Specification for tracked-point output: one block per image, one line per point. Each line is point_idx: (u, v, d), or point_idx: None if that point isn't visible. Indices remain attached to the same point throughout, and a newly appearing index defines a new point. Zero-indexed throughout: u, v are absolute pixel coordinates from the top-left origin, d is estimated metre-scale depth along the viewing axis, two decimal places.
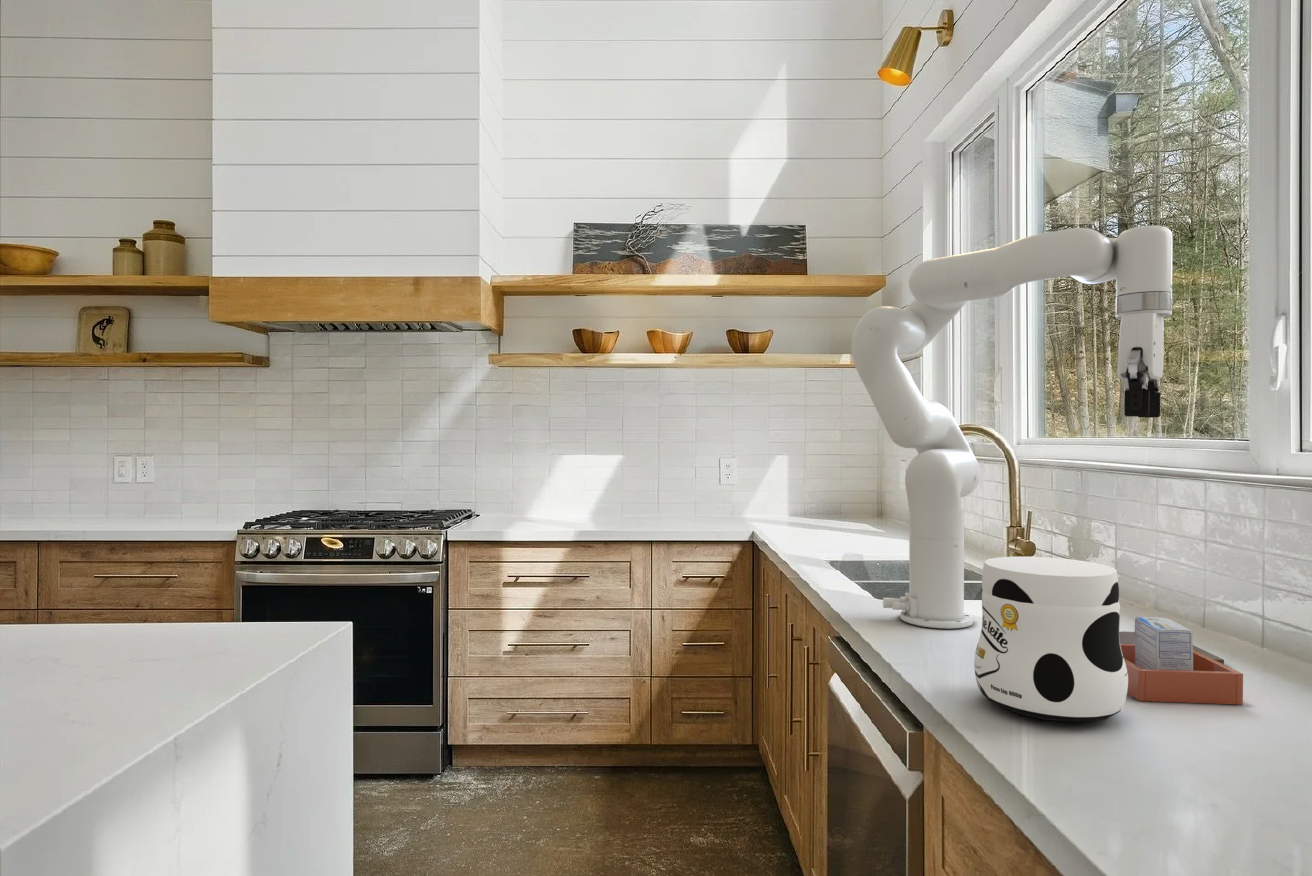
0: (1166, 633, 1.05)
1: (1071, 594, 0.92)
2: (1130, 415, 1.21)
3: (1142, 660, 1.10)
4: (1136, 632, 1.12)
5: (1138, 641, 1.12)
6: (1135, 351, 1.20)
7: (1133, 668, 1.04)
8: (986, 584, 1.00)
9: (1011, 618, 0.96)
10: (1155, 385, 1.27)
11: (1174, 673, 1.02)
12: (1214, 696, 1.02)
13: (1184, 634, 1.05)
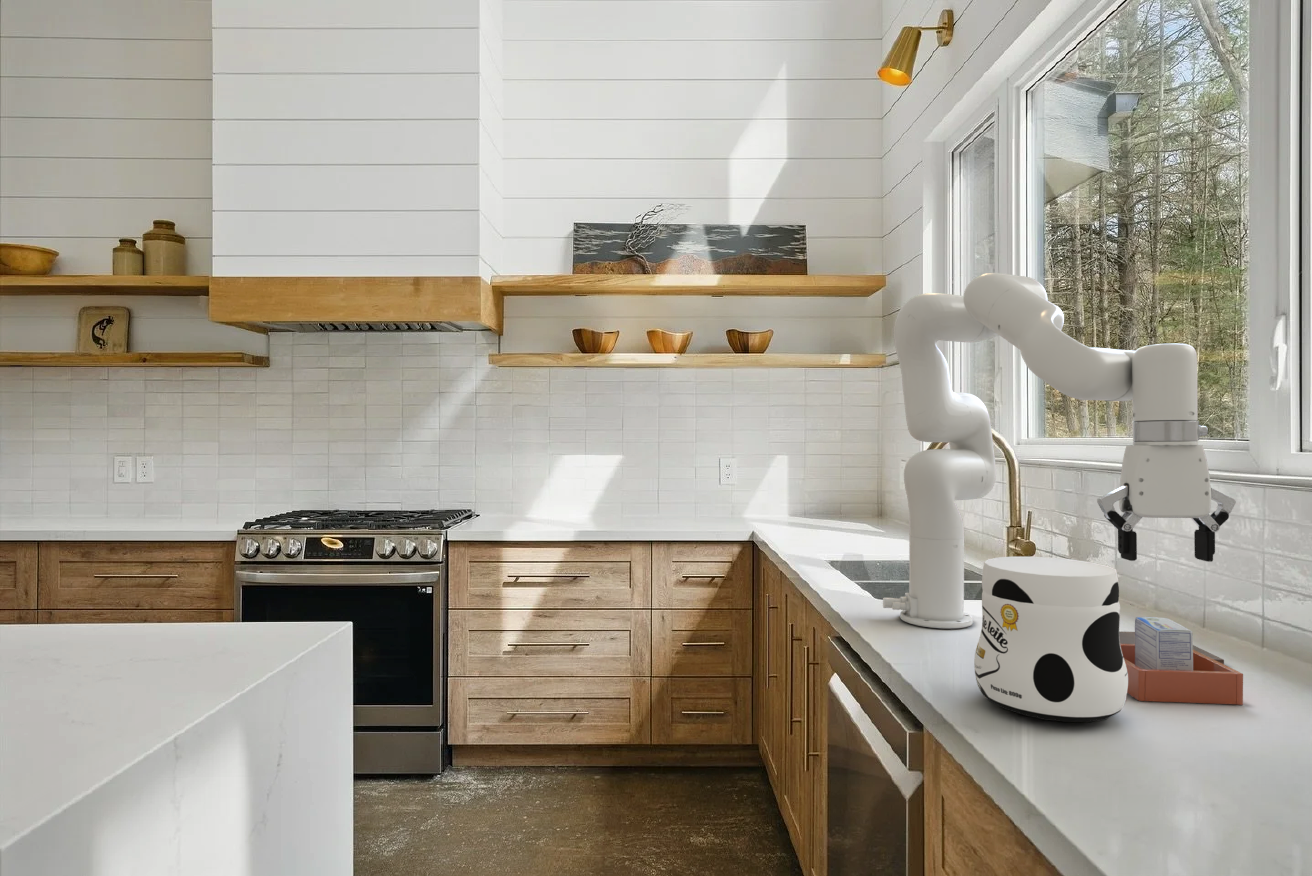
0: (1166, 633, 1.05)
1: (1071, 594, 0.92)
2: (1123, 558, 1.10)
3: (1142, 660, 1.10)
4: (1136, 632, 1.12)
5: (1138, 641, 1.12)
6: (1120, 487, 1.09)
7: (1133, 668, 1.04)
8: (986, 584, 1.00)
9: (1011, 618, 0.96)
10: (1203, 523, 1.07)
11: (1174, 673, 1.02)
12: (1214, 696, 1.02)
13: (1184, 634, 1.05)
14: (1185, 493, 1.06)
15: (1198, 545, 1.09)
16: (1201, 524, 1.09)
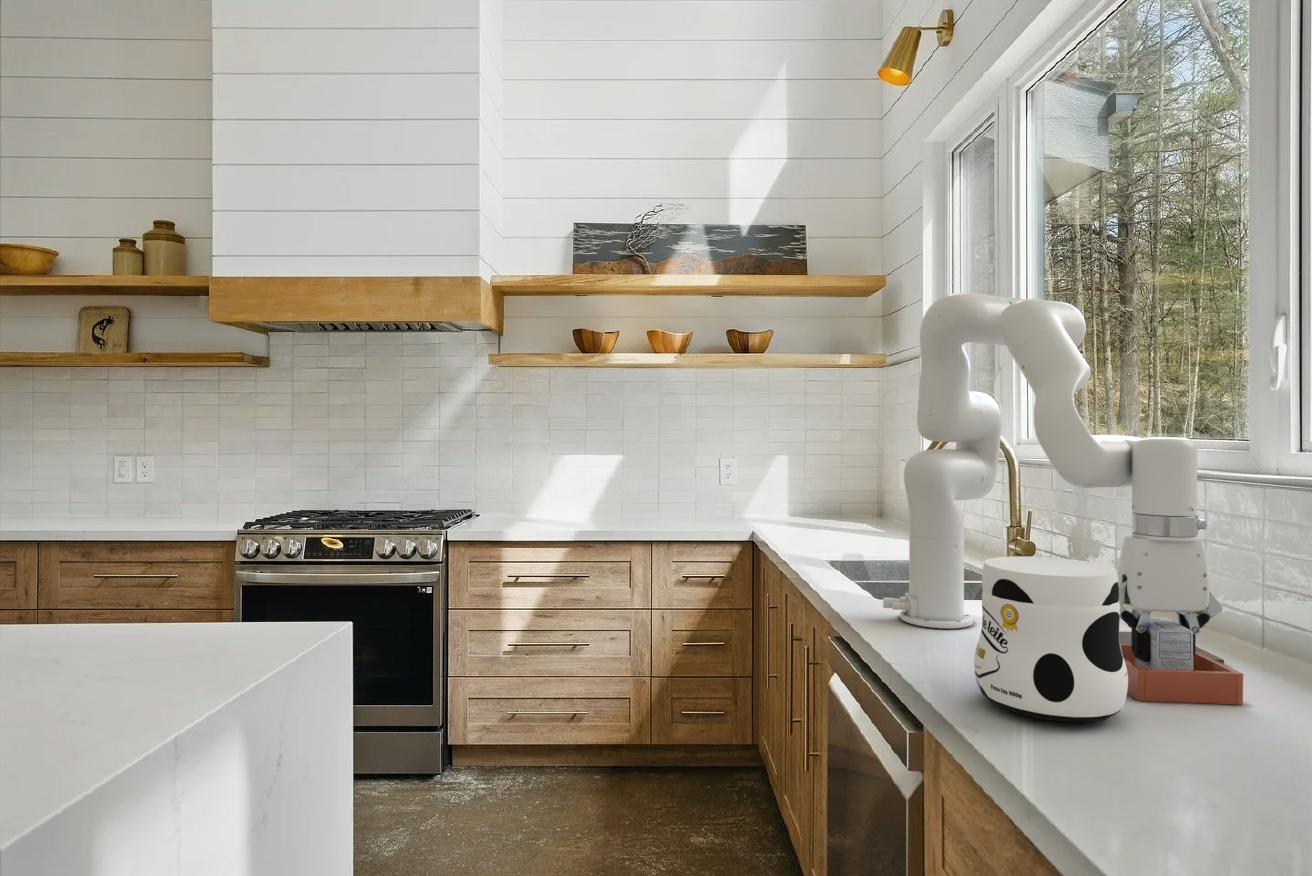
0: (1167, 633, 1.05)
1: (1071, 594, 0.92)
2: (1136, 657, 1.10)
3: None
4: None
5: None
6: (1122, 586, 1.09)
7: (1133, 668, 1.04)
8: (986, 584, 1.00)
9: (1011, 618, 0.96)
10: (1187, 621, 1.07)
11: (1174, 673, 1.02)
12: (1214, 696, 1.02)
13: (1184, 634, 1.05)
14: (1183, 588, 1.06)
15: None
16: (1183, 622, 1.09)
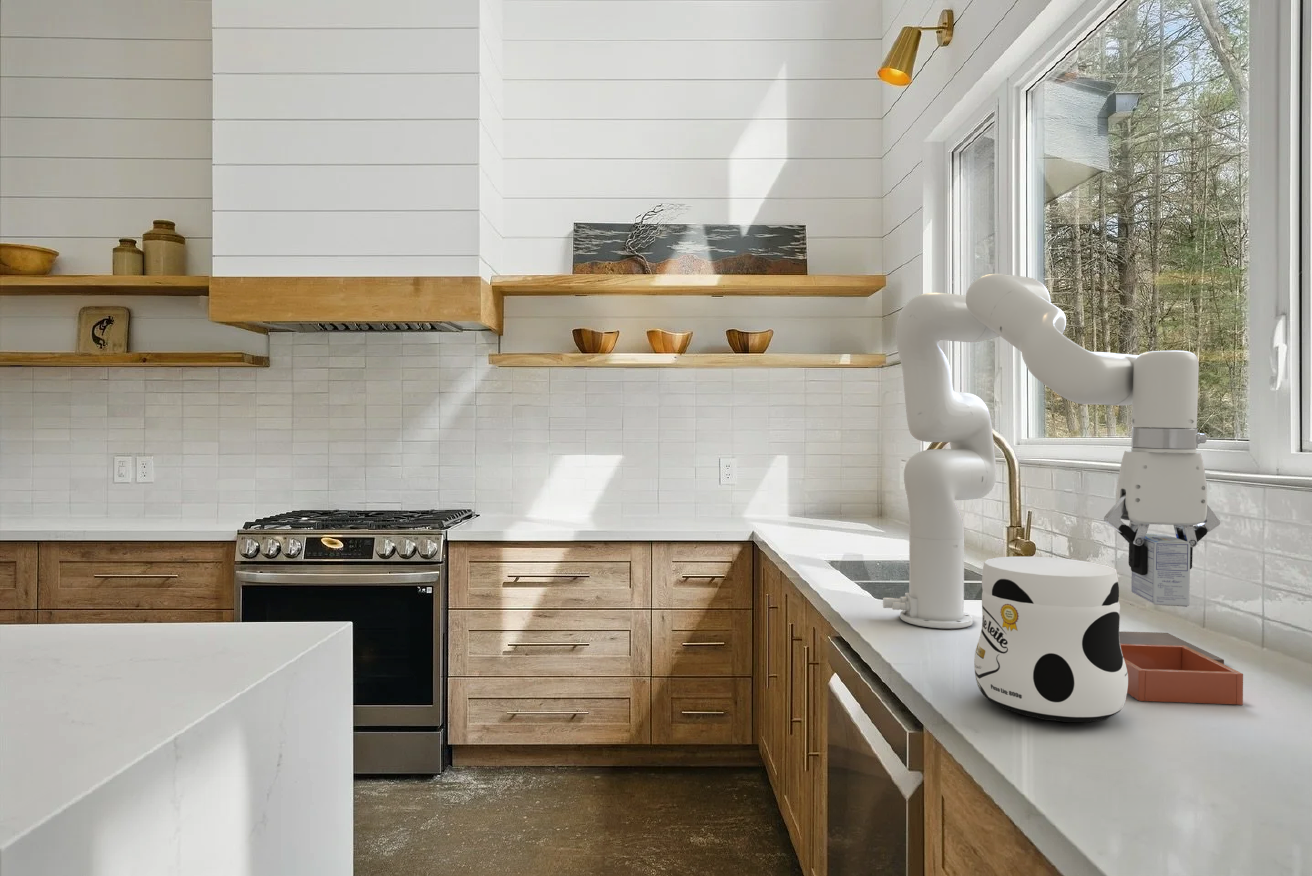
0: (1164, 544, 1.05)
1: (1071, 594, 0.92)
2: (1133, 571, 1.10)
3: (1139, 574, 1.11)
4: None
5: None
6: (1120, 500, 1.10)
7: (1133, 668, 1.04)
8: (986, 584, 1.00)
9: (1011, 618, 0.96)
10: (1184, 535, 1.08)
11: (1174, 673, 1.02)
12: (1214, 696, 1.02)
13: (1181, 546, 1.05)
14: (1181, 500, 1.06)
15: None
16: (1181, 537, 1.09)
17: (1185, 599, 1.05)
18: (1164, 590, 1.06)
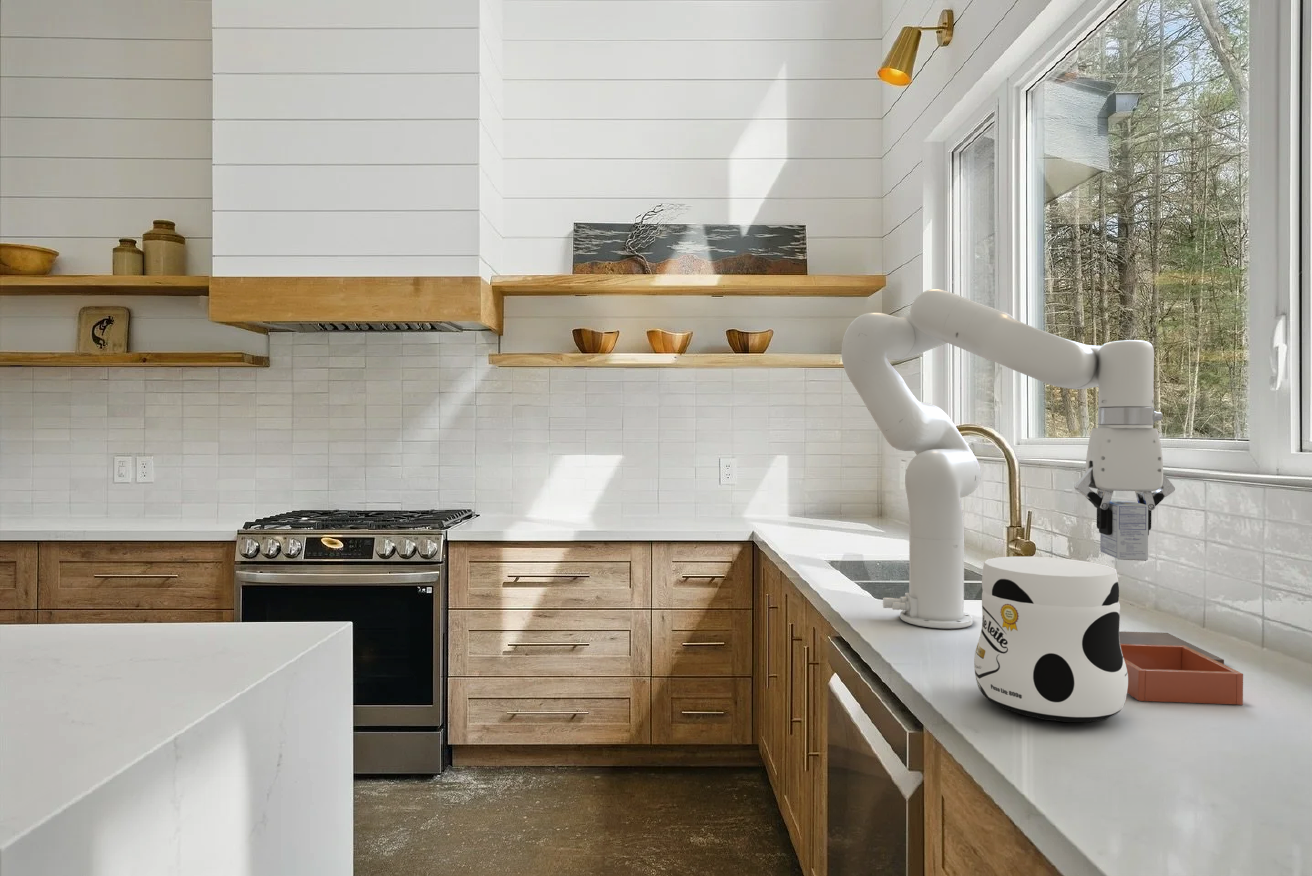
0: (1125, 507, 1.22)
1: (1071, 594, 0.92)
2: (1101, 532, 1.27)
3: (1106, 535, 1.27)
4: None
5: None
6: (1088, 470, 1.26)
7: (1133, 668, 1.04)
8: (986, 584, 1.00)
9: (1011, 618, 0.96)
10: (1144, 500, 1.24)
11: (1174, 673, 1.02)
12: (1214, 696, 1.02)
13: (1140, 508, 1.22)
14: (1140, 470, 1.23)
15: None
16: (1141, 502, 1.26)
17: (1145, 554, 1.22)
18: (1126, 546, 1.22)
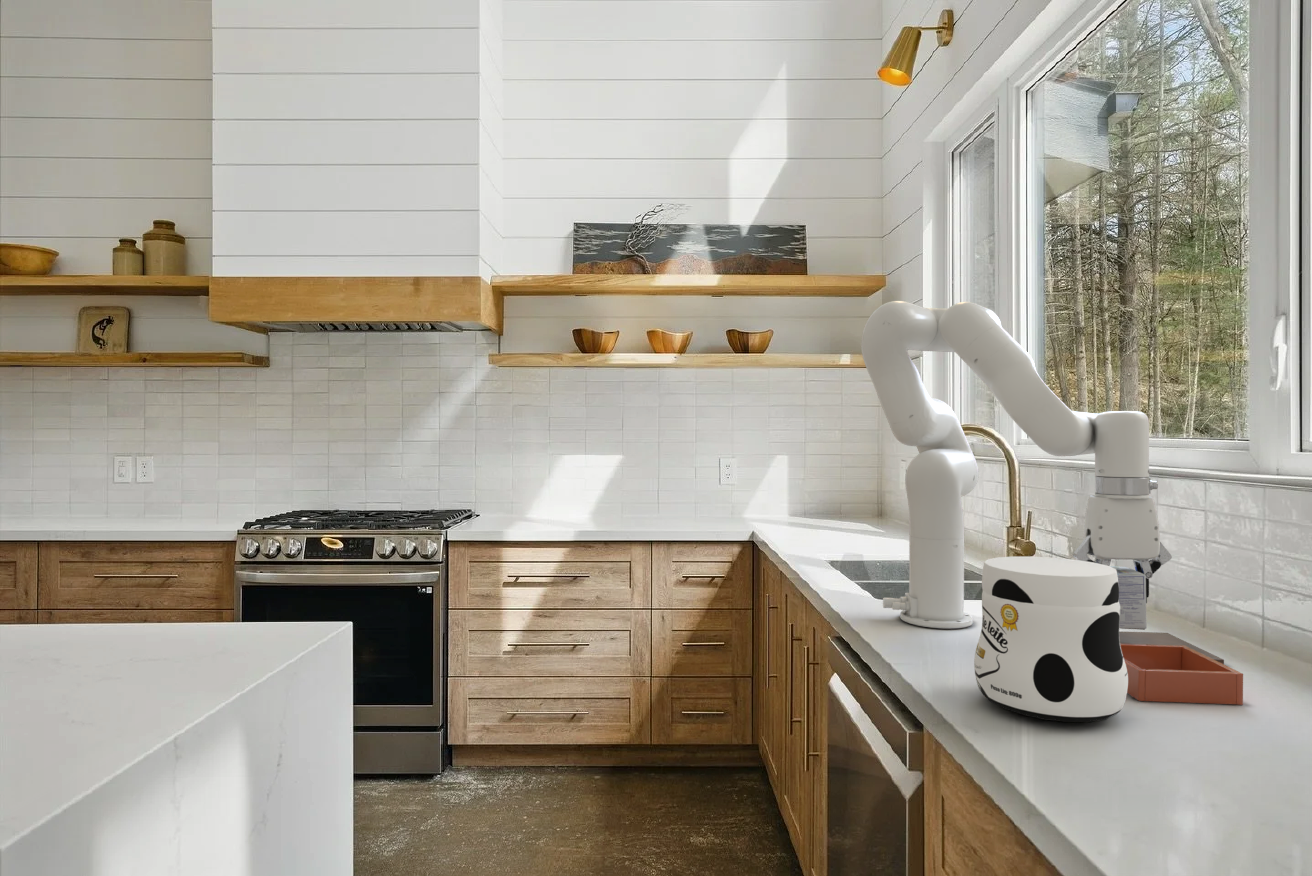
0: (1123, 576, 1.24)
1: (1071, 594, 0.92)
2: None
3: None
4: None
5: None
6: (1086, 538, 1.28)
7: (1133, 668, 1.04)
8: (986, 584, 1.00)
9: (1011, 618, 0.96)
10: (1141, 568, 1.26)
11: (1174, 673, 1.02)
12: (1214, 696, 1.02)
13: (1138, 577, 1.23)
14: (1137, 539, 1.25)
15: None
16: (1139, 569, 1.28)
17: (1143, 623, 1.23)
18: (1124, 615, 1.24)
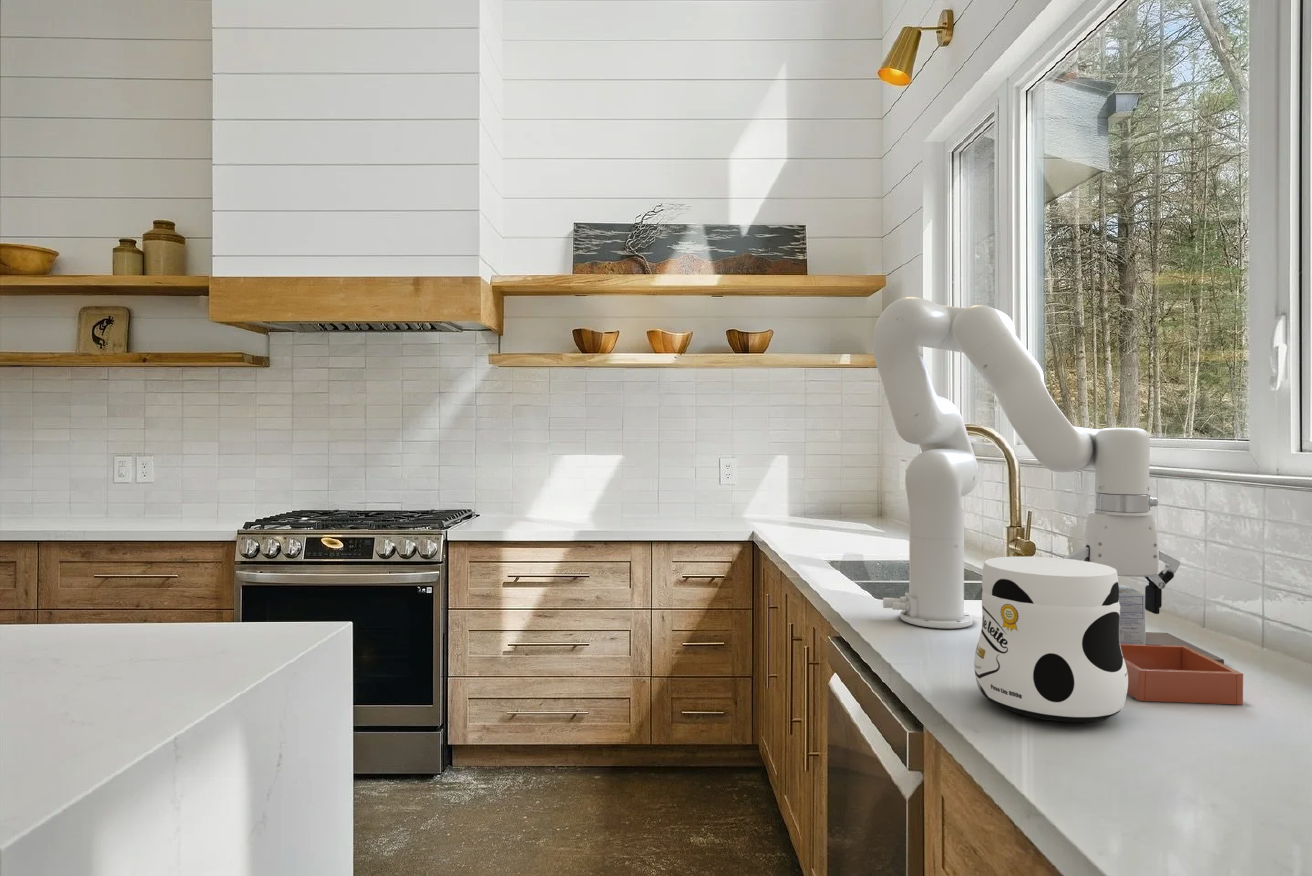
0: (1123, 596, 1.24)
1: (1071, 594, 0.92)
2: None
3: None
4: None
5: None
6: (1083, 549, 1.28)
7: (1133, 668, 1.04)
8: (986, 584, 1.00)
9: (1011, 618, 0.96)
10: (1152, 581, 1.26)
11: (1174, 673, 1.02)
12: (1214, 696, 1.02)
13: (1137, 597, 1.23)
14: (1137, 556, 1.25)
15: (1148, 599, 1.27)
16: (1151, 581, 1.27)
17: (1142, 643, 1.23)
18: (1124, 635, 1.24)
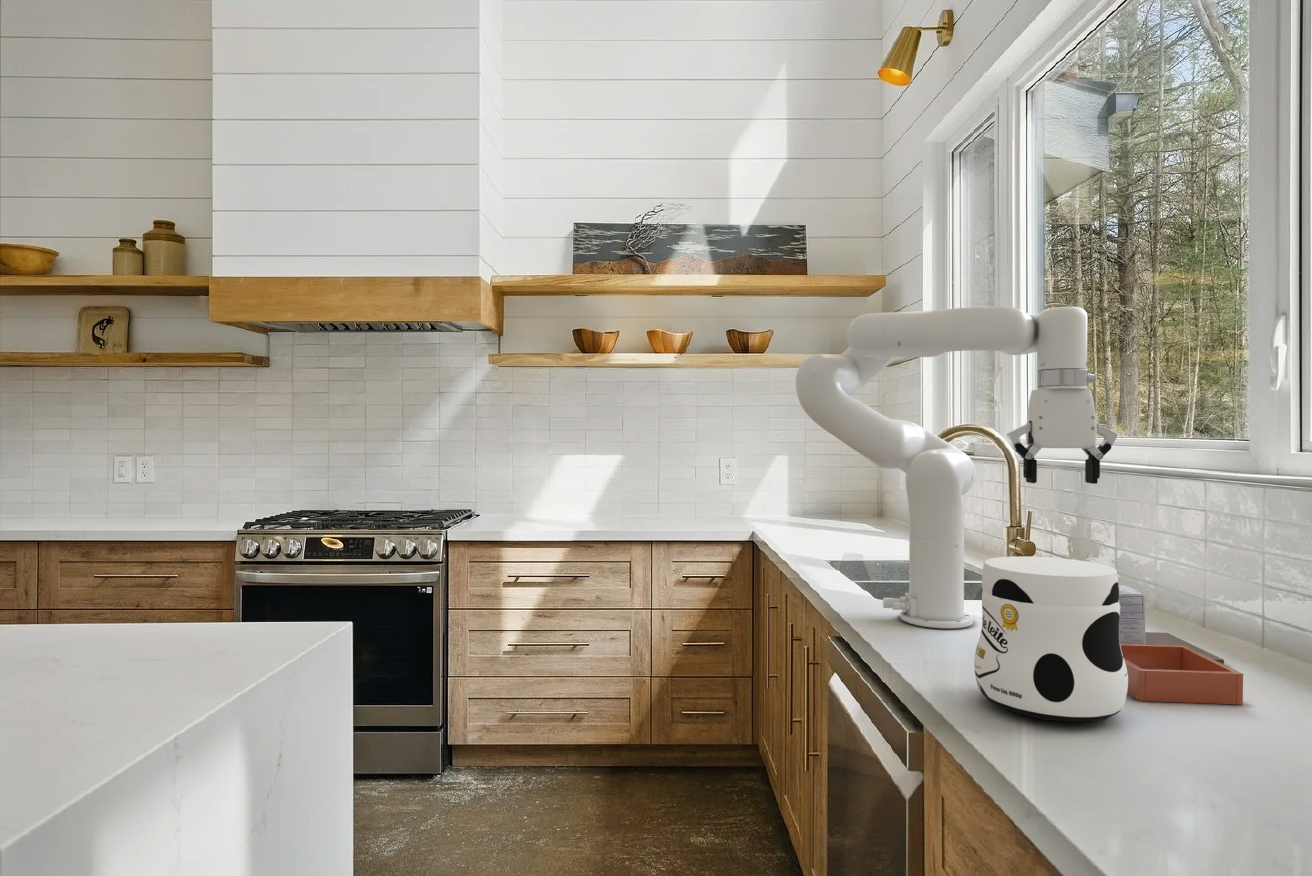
0: (1123, 596, 1.24)
1: (1071, 594, 0.92)
2: (1027, 481, 1.35)
3: None
4: None
5: None
6: (1025, 424, 1.35)
7: (1133, 668, 1.04)
8: (986, 584, 1.00)
9: (1011, 618, 0.96)
10: (1091, 453, 1.32)
11: (1174, 673, 1.02)
12: (1214, 696, 1.02)
13: (1137, 597, 1.23)
14: (1075, 428, 1.31)
15: (1087, 471, 1.34)
16: (1090, 454, 1.34)
17: (1142, 643, 1.23)
18: (1124, 635, 1.24)
